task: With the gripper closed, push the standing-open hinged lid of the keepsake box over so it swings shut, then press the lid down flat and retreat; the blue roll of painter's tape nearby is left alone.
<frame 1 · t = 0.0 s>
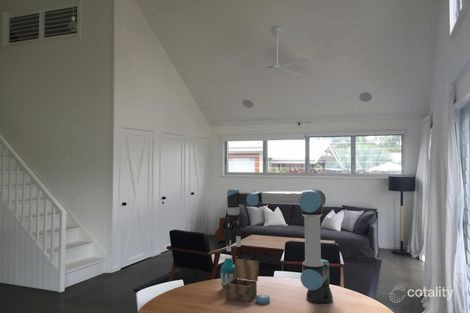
hand: (233, 248, 224), 28 cm above the table, fingers open, 13 cm apart
lid: (245, 268, 224), point 15 cm above the table, hinge at 105.0°
box: (241, 297, 217), on the table
tape roll: (262, 301, 211), on the table
vase: (229, 289, 233), on the table
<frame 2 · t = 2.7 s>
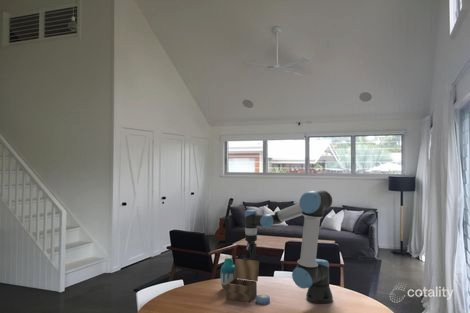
hand: (251, 271, 232), 12 cm above the table, fingers closed
nothing on the table moved.
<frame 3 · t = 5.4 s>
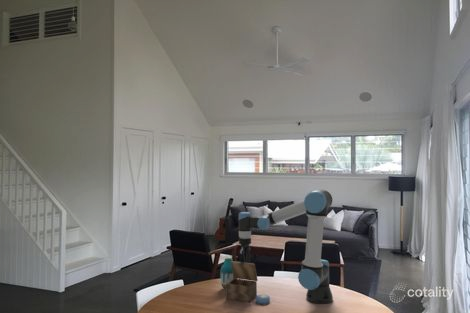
hand: (245, 275, 224), 11 cm above the table, fingers closed
lid: (243, 271, 221), point 15 cm above the table, hinge at 69.1°, touching gripper, hand
everything else where it was.
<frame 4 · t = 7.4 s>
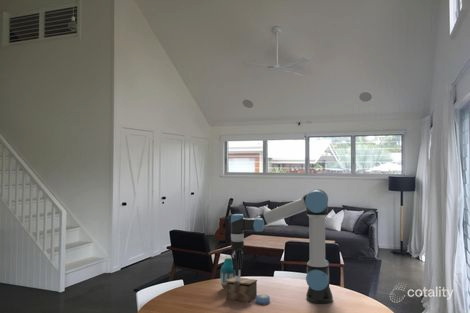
hand: (237, 280, 214), 11 cm above the table, fingers closed
lid: (240, 282, 217), point 9 cm above the table, hinge at 5.2°
everything else where it was.
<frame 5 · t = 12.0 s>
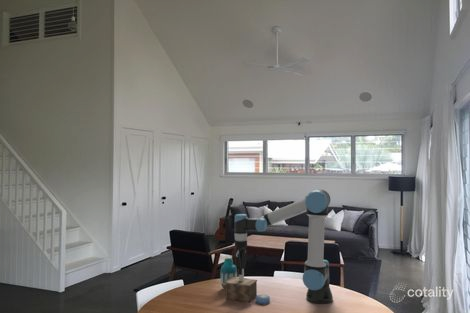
hand: (241, 279, 218), 11 cm above the table, fingers closed
lid: (240, 283, 217), point 9 cm above the table, hinge at -0.1°
everything else where it was.
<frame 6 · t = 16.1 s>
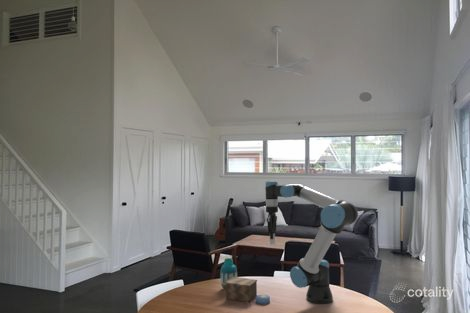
hand: (272, 244, 225), 30 cm above the table, fingers closed
nothing on the table moved.
at the end: lid at +0° (first picture: +105°); tape roll moved 0.1 cm from its start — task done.
